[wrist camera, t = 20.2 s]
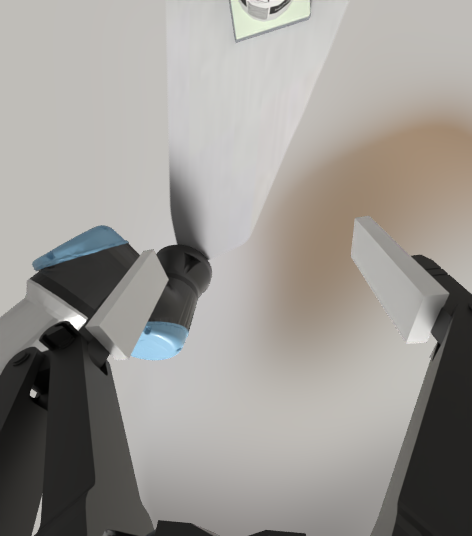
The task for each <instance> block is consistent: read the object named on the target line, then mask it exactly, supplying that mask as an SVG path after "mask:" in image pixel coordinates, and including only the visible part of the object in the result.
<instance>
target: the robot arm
mask: <svg viewBox="0 0 472 536" xmlns="http://www.w3.org/2000/svg"><path fill="white" fill-rule="evenodd" d="M351 257H352V259H353V260H354V262H355V264H356V265H357V267H358V269H359V270H360V272H361V273H362V275H363V276H364V278H365V280H366V281H367V283H368V284H369V286H370V287H371V289H372V291H373V292H374V294H375V295H376V297H377V299H378V300H379V301H380V303H381V305H382V306H383V308H384V310H385V311H386V313H387V314H388V316H389V318H390V319H391V321H392V322H393V324H394V325H395V327H396V329H397V330H398V332H399V333H400V335H401V336H402V338H403V340H404V341H405V343H406V344H407V343H423V342H424V343H425V342H427V340H428V338H429V336H430V334H431V333H432V335H433V336H434V337H435V339H436V340H437V341H438V342H437V344H436V346H435V348H434V350H433V351H432V353H431V355H430V357H431V360H430V363H429V367H428V369H427V372H426V375H425V378H424V381H423V384H422V387H421V390H420V394H419V397H418V399H417V402H416V406H415V408H414V412H413V414H412V418H411V420H410V424H409V427H408V429H407V433H406V436H405V438H404V441H403V445H402V447H401V450H400V453H399V457H398V460H397V463H396V465H395V468H394V472H393V474H392V477H391V481H390V483H389V487H388V489H387V492H386V496H385V499H384V502H383V505H382V508H381V511H380V513H379V517H378V519H377V522H376V524H375V526H374V528H373V531H372V533H371V535H370V536H472V294H471V293H469V292H468V291H467V290H466V289H465V288H464V287H463V286H462V285H460V284H459V283H458V282H457V281H456V280H455V279H454V278H452V277H451V276H450V275H448V274H447V272H445V271H444V270H443V269H441V267H440V266H438V265H437V264H436V263H435V262H434V261H433V260H431V259H429V258H426V257H425V256H422V255H414V256H410V255H409V254H408V253H407V252H406V251H405V250H404V249H403V248H402V247H401V246H400V245H399V244H398V243H397V242H396V241H395V240H394V239H392V237H391V236H389V235H388V234H387V233H386V232H385V231H384V230H383V229H382V228H381V227H380V226H379V225H378V224H377V223H376V222H375V221H374V220H373V219H372V218H371V217H370V216H365V217H358V218H355V223H354V233H353V242H352V251H351ZM32 265H33V267H34V270H36V271H39V272H38V273H37V274H35V275H34V276H33V277H31V278H30V279H29V280H27V294H26V296H25V298H24V299H23V300H22V301H20V302H19V303H18V304H17V305H15V306H14V307H13V308H11V309H10V310H9V311H8V312H7V313H5V314H4V315H3V316H1V317H0V536H31V535H32V531H33V527H34V524H35V520H36V515H37V512H38V508H39V504H40V500H41V497H42V512H41V523H40V528H39V530H38V532H37V533H36V534H35V535H34V536H219V535H218V534H216V533H213V532H211V531H208V530H206V529H204V528H201V527H199V526H196V525H194V524H191V523H182V522H171V521H160V520H158V524H157V528H156V530H154V528H153V524H152V521H151V519H150V517H149V514H148V513H147V511H146V509H145V508H144V506H143V505H142V502H141V500H140V496H139V492H138V487H137V483H136V479H135V474H134V469H133V465H132V461H131V456H130V452H129V447H128V443H127V439H126V434H125V430H124V425H123V421H122V416H121V412H120V407H119V403H118V398H117V394H116V390H115V386H114V381H113V377H112V372H111V368H110V364H109V362H108V361H107V360H106V359H107V358H108V356H109V354H110V355H112V357H113V358H114V359H115V360H127V359H129V358H130V356H133V357H136V358H140V359H145V360H163V359H168V358H171V357H173V356H175V355H176V354H178V353H179V352H180V351H181V349H182V348H183V345H184V343H185V340H186V338H187V336H188V333H189V329H190V325H191V322H192V318H193V315H194V311H195V308H196V304H197V300H198V298H199V297H200V296H201V295H202V293H203V292H205V290H206V289H207V288H208V286H209V284H210V281H211V277H212V269H211V266H210V264H209V262H208V260H207V259H206V258H205V257H204V256H203V255H202V254H201V253H200V252H198V251H197V250H195V249H193V248H191V247H188V246H184V245H171V246H167V247H165V248H163V249H161V250H160V251H159V252H158V253H157V254H155V252H154V250H147V251H143V253H142V254H141V255H139V254H138V253H137V252H136V251H135V250H134V249H133V248H132V247H131V246H130V245H129V242H128V241H126V240H124V239H123V238H122V237H121V236H120V235H119V234H117V233H116V232H115V231H114V230H113V229H112V228H110V227H108V226H102V225H101V226H97V227H94V228H92V229H90V230H88V231H86V232H84V233H82V234H80V235H78V236H76V237H74V238H73V239H71V240H69V241H67V242H65V243H64V244H62V245H60V246H58V247H57V248H55V249H53V250H52V251H50V252H48V253H47V254H45V255H43V256H41V257H39V258H38V259H36V260H35V261H33V263H32ZM31 389H33V390H34V391H36V392H37V394H36V397H35V398H33V397H31V396H30V391H31ZM42 493H43V495H42ZM249 536H306V534H304V533H294V532H282V531H271V530H265V531H262V532H259V533H255V534H253V535H249Z"/></svg>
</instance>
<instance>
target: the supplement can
mask: <svg viewBox="0 0 472 536" xmlns="http://www.w3.org/2000/svg"><path fill="white" fill-rule="evenodd" d="M238 1H239V3H240V5H241V7H242V9H243V10H244V11H245V12H246V13H247V14H248V15H249V16H250V17H251V18H252V19H255V20H259V21H262V22H266V21H270V20H274V19H276V18H277V17H279V16H280V15H281V14H283V13H284V12H285V11H286V10H287V9H288V7H289V6H290V4H291V3H292V1H293V0H238Z"/></svg>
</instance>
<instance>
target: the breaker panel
mask: <svg viewBox="0 0 472 536" xmlns="http://www.w3.org/2000/svg"><path fill="white" fill-rule="evenodd" d="M229 4H230V11H231V17H232V24H233V30H234V37H235V42H240V41H243V40H246V39H249V38H252V37H255V36H258V35H261V34H264V33H268V32H271V31H274V30H277V29H280V28H283V27H286V26H289V25H293V24H296V23H299V22H302V21H305V20H308V19H309V18H310V16H311V9H310V0H293V1H292V3H291V4H290V6H289V7H288V9H287V10H286V11H285V12H284V13H283V14H281V15H280V16H279V17H277V18H276V19H274V20H270V21H266V22H262V21H259V20H255V19H252V18H251V17H250V16H249V15H248V14H247V13H246V12H245V11H244V10H243V9H242V7H241V5H240V3H239V1H238V0H229Z"/></svg>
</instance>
